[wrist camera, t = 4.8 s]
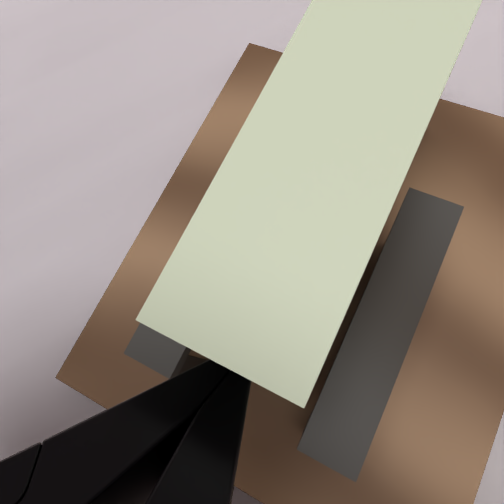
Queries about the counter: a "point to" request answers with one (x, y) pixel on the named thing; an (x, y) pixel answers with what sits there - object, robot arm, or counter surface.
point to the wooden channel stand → (348, 326)
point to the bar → (308, 189)
